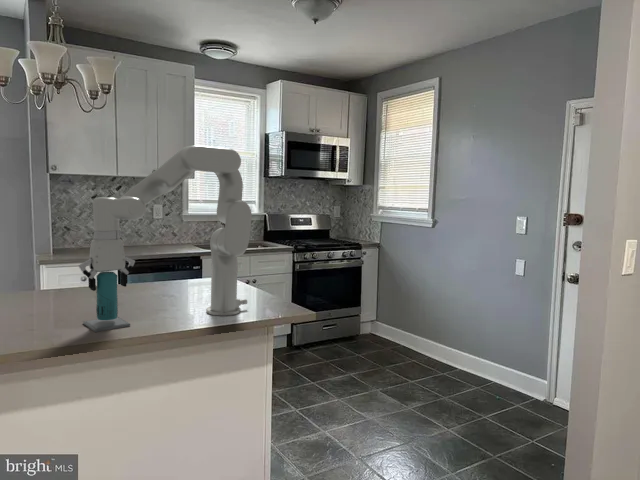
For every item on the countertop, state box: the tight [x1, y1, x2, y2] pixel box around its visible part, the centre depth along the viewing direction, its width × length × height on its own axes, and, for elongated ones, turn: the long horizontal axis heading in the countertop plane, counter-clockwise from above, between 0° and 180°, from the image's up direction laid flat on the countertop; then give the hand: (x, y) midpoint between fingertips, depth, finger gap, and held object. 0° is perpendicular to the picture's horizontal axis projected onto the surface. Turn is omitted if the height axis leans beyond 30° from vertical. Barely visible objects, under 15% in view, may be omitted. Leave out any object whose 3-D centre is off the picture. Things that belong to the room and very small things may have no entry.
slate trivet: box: [82, 316, 131, 333], centre depth 153 cm, size 11×11×1 cm
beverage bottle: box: [95, 271, 119, 320], centre depth 152 cm, size 6×7×20 cm
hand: (108, 287), depth 153 cm, fingers open, 9 cm apart
